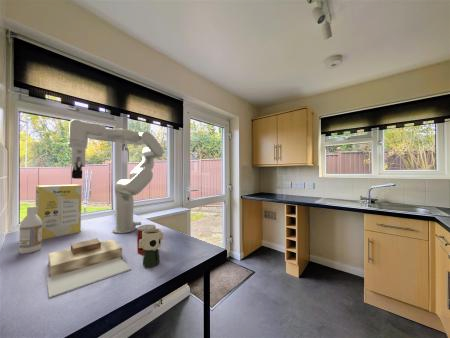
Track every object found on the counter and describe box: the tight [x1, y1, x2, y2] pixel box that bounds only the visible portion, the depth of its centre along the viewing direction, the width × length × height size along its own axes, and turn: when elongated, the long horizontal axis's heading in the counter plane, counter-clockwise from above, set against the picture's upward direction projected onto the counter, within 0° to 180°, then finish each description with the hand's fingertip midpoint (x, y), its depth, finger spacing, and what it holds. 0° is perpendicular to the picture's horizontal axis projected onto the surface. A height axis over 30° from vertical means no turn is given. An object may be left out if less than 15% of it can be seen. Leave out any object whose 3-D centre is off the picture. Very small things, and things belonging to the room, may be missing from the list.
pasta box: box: [35, 184, 83, 240], centre depth 108 cm, size 18×10×28 cm, turn 142°
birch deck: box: [48, 238, 123, 277], centre depth 76 cm, size 22×14×4 cm, turn 136°
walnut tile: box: [70, 238, 102, 255], centre depth 77 cm, size 9×7×2 cm
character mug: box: [139, 228, 164, 268], centre depth 73 cm, size 11×7×13 cm, turn 149°
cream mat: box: [46, 257, 132, 299], centre depth 65 cm, size 22×13×1 cm, turn 136°
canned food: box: [136, 224, 157, 255], centre depth 85 cm, size 8×8×11 cm
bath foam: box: [18, 205, 43, 255], centre depth 84 cm, size 7×7×20 cm
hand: (76, 178), depth 94 cm, fingers open, 9 cm apart
